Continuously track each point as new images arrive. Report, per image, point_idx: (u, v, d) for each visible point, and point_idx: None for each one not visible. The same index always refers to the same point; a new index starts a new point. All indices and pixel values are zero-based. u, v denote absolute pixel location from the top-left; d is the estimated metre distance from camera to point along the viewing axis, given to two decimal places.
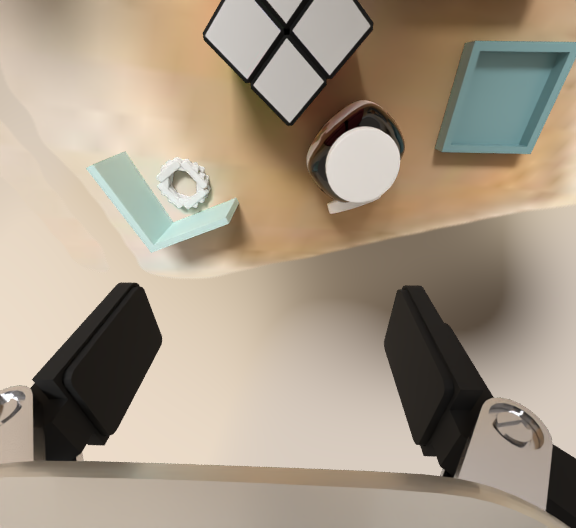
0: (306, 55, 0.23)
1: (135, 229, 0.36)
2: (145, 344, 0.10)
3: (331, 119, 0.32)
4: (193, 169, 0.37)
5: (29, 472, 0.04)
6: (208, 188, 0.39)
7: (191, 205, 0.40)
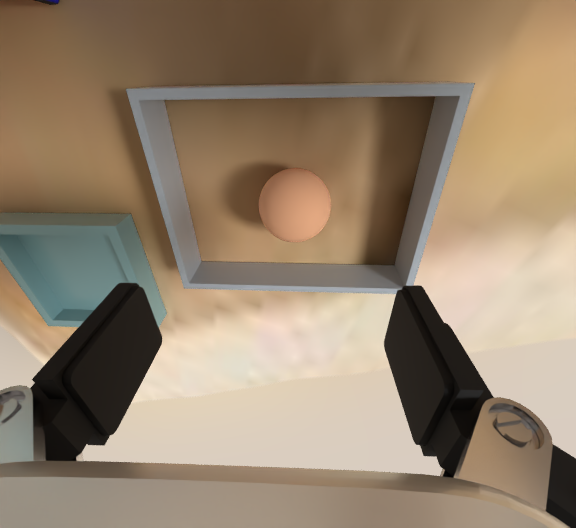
0: None
1: None
2: (145, 344, 0.10)
3: None
4: None
5: (29, 472, 0.04)
6: None
7: None
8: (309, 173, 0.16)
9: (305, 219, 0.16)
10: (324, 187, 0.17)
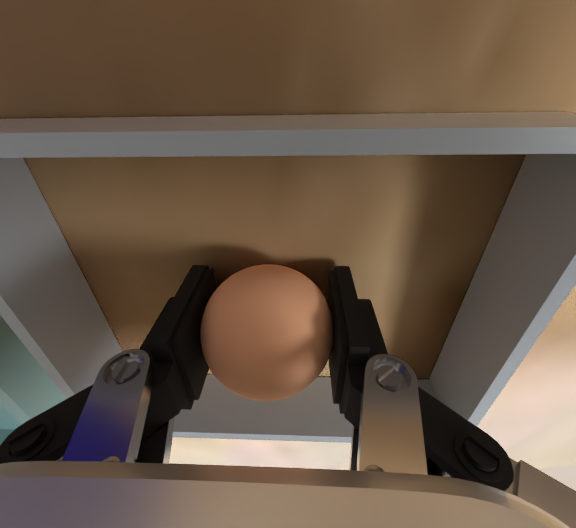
0: None
1: None
2: None
3: None
4: None
5: (29, 472, 0.04)
6: None
7: None
8: (292, 284, 0.09)
9: (285, 383, 0.08)
10: (321, 308, 0.09)
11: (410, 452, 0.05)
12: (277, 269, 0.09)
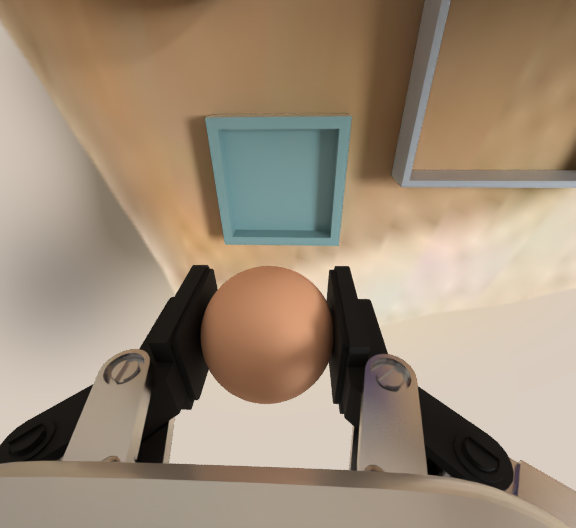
0: None
1: None
2: None
3: None
4: None
5: (29, 472, 0.04)
6: None
7: None
8: (293, 286, 0.09)
9: (285, 386, 0.08)
10: (322, 310, 0.09)
11: (410, 452, 0.05)
12: (277, 271, 0.09)
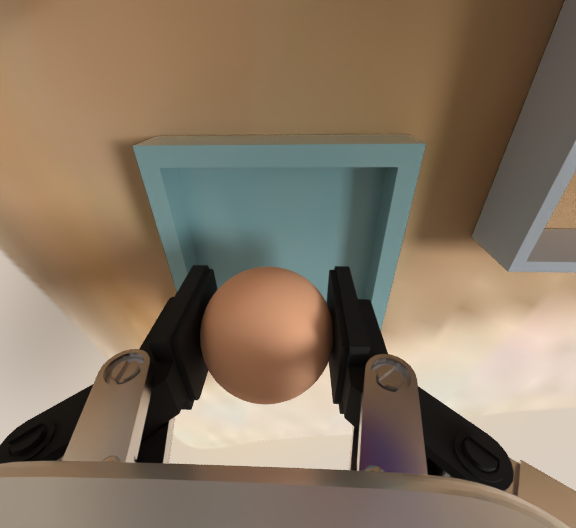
0: None
1: None
2: None
3: None
4: None
5: (29, 472, 0.04)
6: None
7: None
8: (292, 286, 0.09)
9: (285, 386, 0.08)
10: (321, 311, 0.09)
11: (410, 452, 0.05)
12: (277, 271, 0.09)
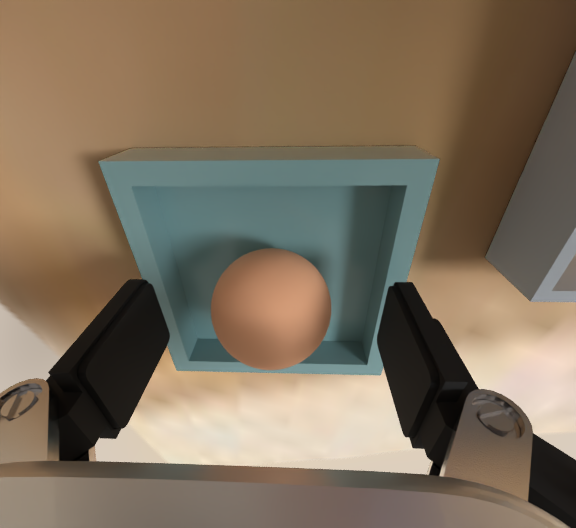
0: None
1: None
2: (154, 340, 0.10)
3: None
4: None
5: (29, 472, 0.04)
6: None
7: None
8: (294, 264, 0.10)
9: (287, 351, 0.09)
10: (320, 286, 0.10)
11: None
12: (280, 251, 0.10)
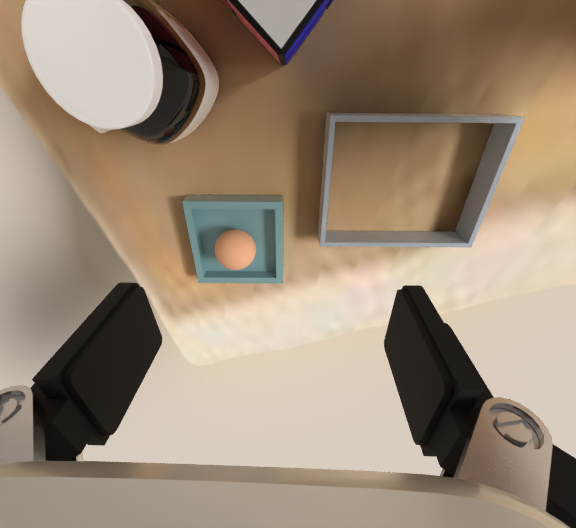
0: None
1: None
2: (145, 344, 0.10)
3: (189, 34, 0.22)
4: None
5: (29, 472, 0.04)
6: None
7: None
8: (241, 233, 0.30)
9: (238, 259, 0.30)
10: (250, 241, 0.30)
11: None
12: (237, 230, 0.31)
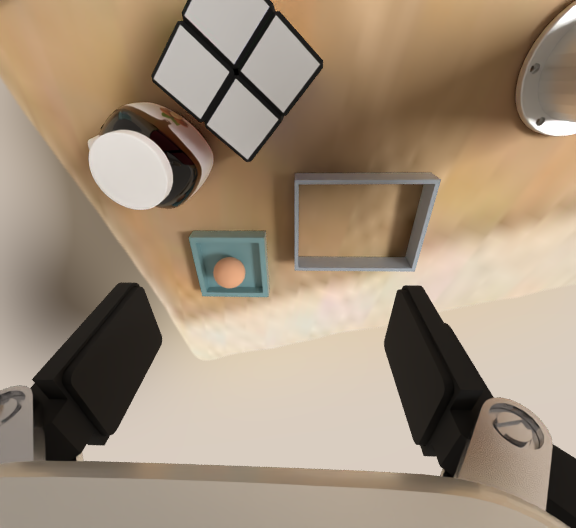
0: (219, 96, 0.23)
1: None
2: (145, 344, 0.10)
3: (191, 128, 0.31)
4: None
5: (29, 472, 0.04)
6: None
7: None
8: (233, 261, 0.40)
9: (230, 281, 0.39)
10: (239, 267, 0.40)
11: None
12: (230, 258, 0.40)
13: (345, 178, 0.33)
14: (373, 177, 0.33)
